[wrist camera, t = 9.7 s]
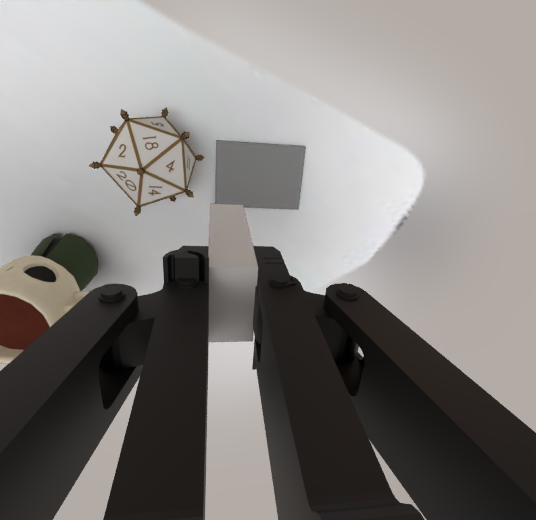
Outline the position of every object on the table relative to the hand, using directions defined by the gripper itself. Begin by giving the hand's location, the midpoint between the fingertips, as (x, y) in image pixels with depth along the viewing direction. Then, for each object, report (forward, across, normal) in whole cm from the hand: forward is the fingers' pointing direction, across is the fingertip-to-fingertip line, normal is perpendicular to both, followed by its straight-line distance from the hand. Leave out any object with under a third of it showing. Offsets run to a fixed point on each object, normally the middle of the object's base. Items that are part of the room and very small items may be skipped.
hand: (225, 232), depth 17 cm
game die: (+22, -6, 0) cm, 23 cm away
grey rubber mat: (+22, +4, -2) cm, 22 cm away
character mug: (+22, -16, -12) cm, 30 cm away
